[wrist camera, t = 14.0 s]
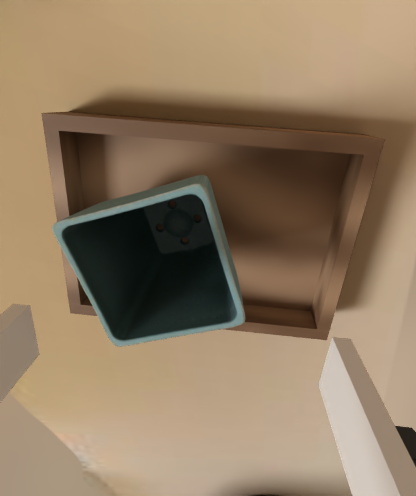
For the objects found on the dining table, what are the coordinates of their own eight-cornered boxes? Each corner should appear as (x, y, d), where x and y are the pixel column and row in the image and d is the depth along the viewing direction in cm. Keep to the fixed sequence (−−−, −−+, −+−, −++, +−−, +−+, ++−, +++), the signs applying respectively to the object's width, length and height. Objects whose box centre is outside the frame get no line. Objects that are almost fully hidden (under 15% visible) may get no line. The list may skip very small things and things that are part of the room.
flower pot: (148, 279, 28) (112, 350, 20) (108, 184, 25) (46, 224, 17) (244, 257, 27) (248, 325, 18) (215, 153, 23) (204, 180, 15)
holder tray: (316, 314, 30) (326, 340, 26) (87, 291, 30) (70, 313, 27) (363, 134, 23) (384, 139, 20) (67, 111, 24) (41, 113, 21)
